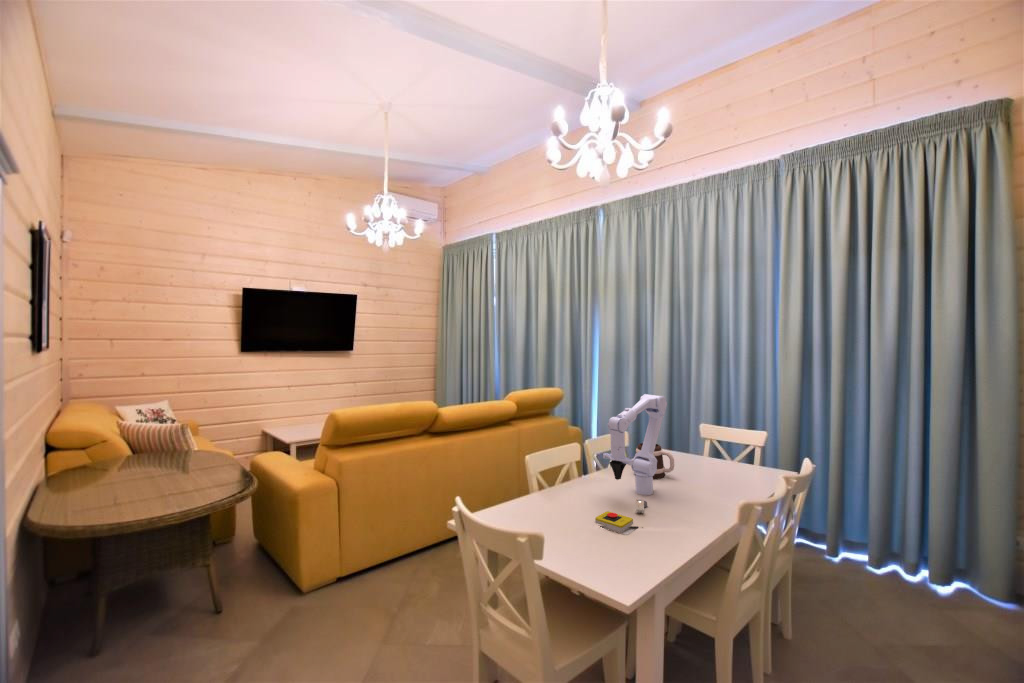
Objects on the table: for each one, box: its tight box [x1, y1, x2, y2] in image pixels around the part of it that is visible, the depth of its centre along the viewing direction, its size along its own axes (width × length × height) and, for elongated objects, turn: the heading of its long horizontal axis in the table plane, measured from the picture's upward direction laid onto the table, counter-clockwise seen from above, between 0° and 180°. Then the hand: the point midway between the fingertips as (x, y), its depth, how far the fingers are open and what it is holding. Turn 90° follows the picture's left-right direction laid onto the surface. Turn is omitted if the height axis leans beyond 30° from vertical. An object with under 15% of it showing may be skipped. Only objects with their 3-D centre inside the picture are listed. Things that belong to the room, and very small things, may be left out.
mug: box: [635, 442, 675, 480], centre depth 229 cm, size 20×15×15 cm
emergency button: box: [594, 511, 640, 536], centre depth 170 cm, size 9×4×15 cm
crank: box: [635, 499, 648, 514], centre depth 182 cm, size 12×4×5 cm, turn 159°
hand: (618, 478), depth 192 cm, fingers closed
